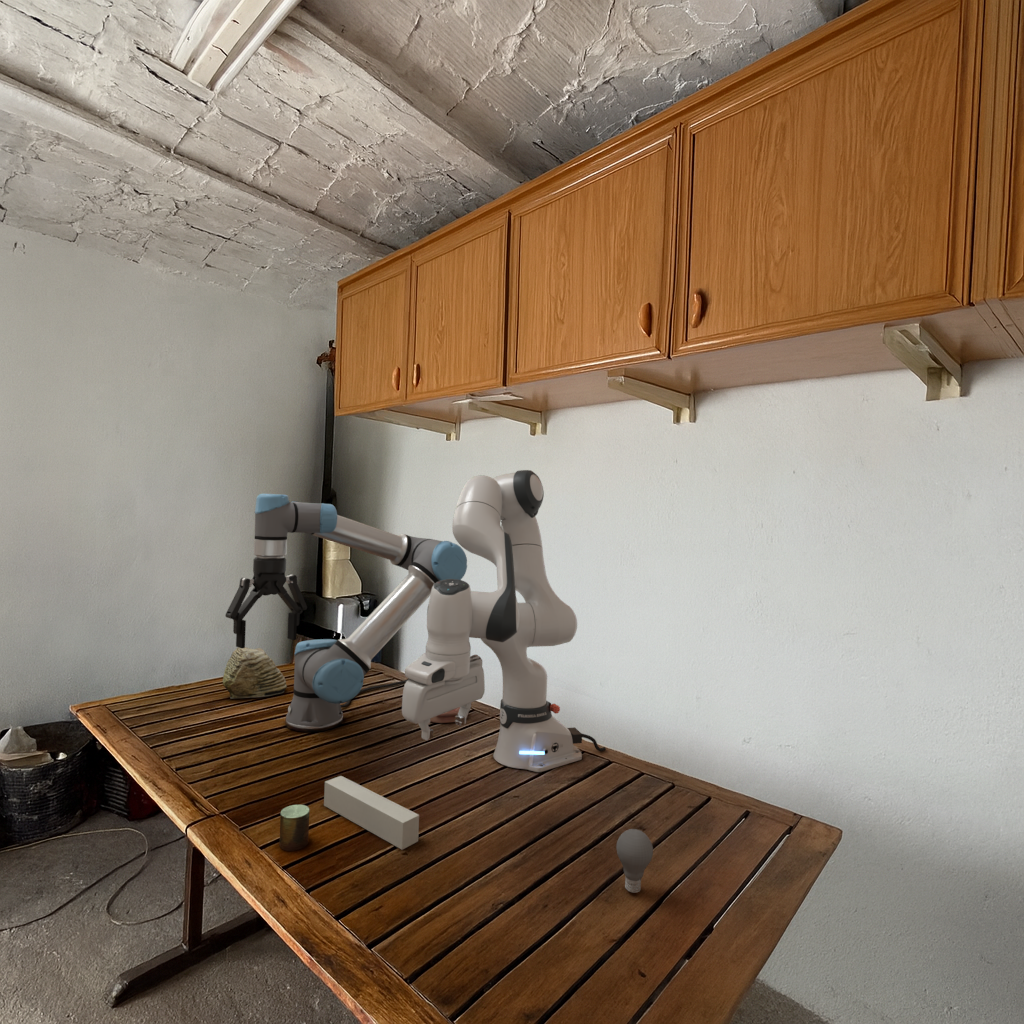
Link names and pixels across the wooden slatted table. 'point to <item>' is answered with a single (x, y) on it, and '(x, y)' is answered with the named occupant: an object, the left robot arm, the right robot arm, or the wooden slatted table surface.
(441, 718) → the anatomical model
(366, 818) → the bar
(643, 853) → the light bulb
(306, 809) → the sage tin
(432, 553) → the left robot arm
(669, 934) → the wooden slatted table surface
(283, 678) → the fossil
